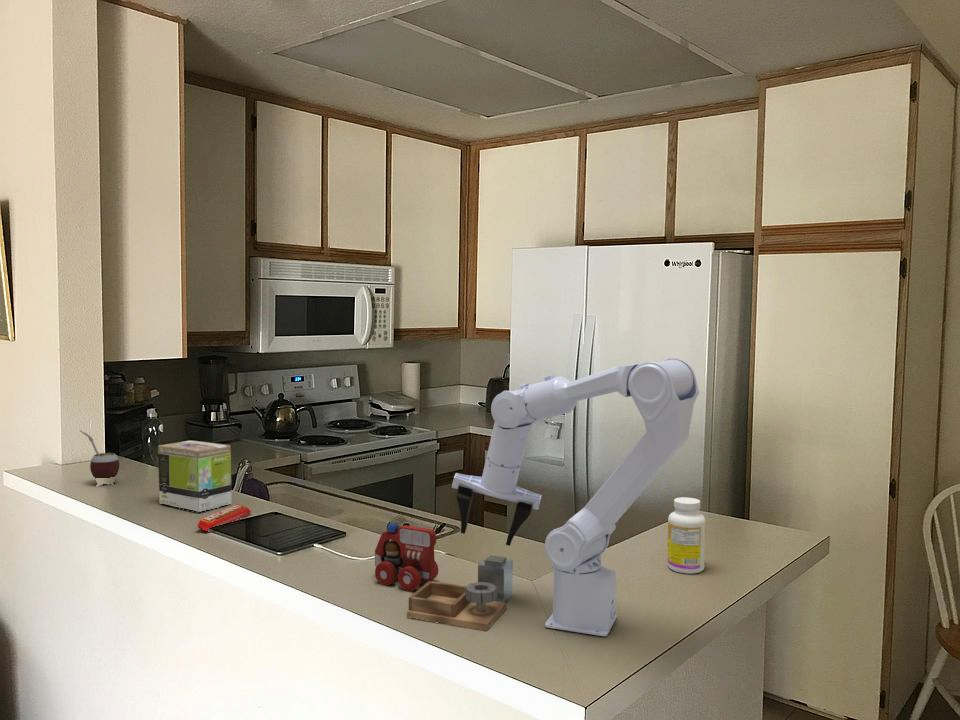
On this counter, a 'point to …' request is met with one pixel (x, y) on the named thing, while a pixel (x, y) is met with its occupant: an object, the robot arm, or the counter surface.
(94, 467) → the mate gourd
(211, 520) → the candy bar
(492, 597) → the wheel
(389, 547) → the toy fire truck
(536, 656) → the counter surface
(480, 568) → the grey block
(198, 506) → the tea box
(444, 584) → the board
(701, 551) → the supplement bottle
